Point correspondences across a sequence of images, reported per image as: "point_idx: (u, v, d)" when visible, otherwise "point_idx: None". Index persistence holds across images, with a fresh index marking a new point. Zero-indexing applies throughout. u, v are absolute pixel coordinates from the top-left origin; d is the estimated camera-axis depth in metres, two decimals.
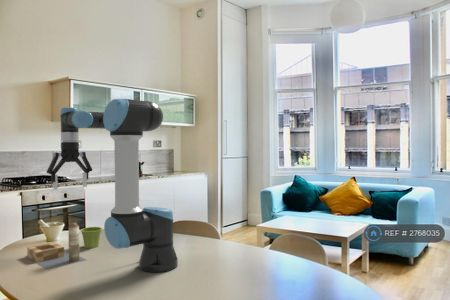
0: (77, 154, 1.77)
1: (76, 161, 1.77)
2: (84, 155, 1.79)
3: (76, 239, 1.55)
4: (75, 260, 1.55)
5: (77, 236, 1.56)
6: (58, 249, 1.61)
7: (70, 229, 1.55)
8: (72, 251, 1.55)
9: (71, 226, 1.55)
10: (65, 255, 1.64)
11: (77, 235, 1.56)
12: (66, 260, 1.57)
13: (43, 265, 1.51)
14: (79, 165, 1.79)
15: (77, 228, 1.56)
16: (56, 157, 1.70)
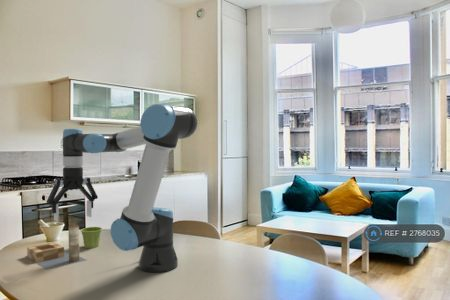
0: (81, 181, 1.58)
1: (80, 188, 1.58)
2: (89, 181, 1.60)
3: (76, 239, 1.55)
4: (75, 260, 1.55)
5: (77, 236, 1.56)
6: (58, 249, 1.61)
7: (70, 229, 1.55)
8: (72, 251, 1.55)
9: (71, 226, 1.55)
10: (65, 255, 1.64)
11: (77, 235, 1.56)
12: (66, 260, 1.57)
13: (43, 265, 1.51)
14: (83, 192, 1.60)
15: (77, 228, 1.56)
16: (57, 185, 1.51)
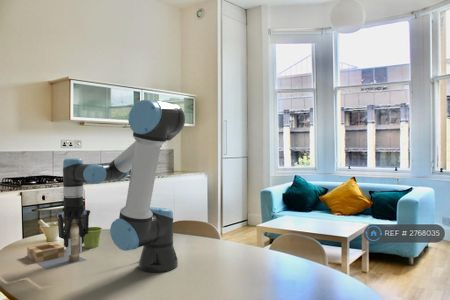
0: (81, 210, 1.58)
1: (77, 219, 1.57)
2: (87, 214, 1.60)
3: (76, 239, 1.55)
4: (75, 260, 1.55)
5: (77, 236, 1.56)
6: (58, 249, 1.61)
7: (70, 229, 1.55)
8: (72, 251, 1.55)
9: (71, 226, 1.55)
10: (65, 255, 1.64)
11: (77, 235, 1.56)
12: (66, 260, 1.57)
13: (43, 265, 1.51)
14: None
15: (77, 228, 1.56)
16: (61, 219, 1.52)
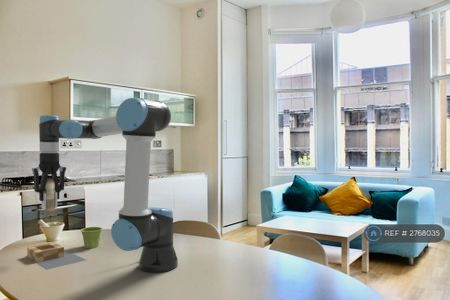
0: (57, 166, 1.62)
1: (52, 175, 1.61)
2: (63, 170, 1.64)
3: (51, 194, 1.60)
4: (50, 214, 1.60)
5: (52, 191, 1.60)
6: (58, 249, 1.61)
7: None
8: (47, 205, 1.59)
9: (47, 181, 1.59)
10: (65, 255, 1.64)
11: (52, 190, 1.60)
12: (66, 260, 1.57)
13: (43, 265, 1.51)
14: (53, 180, 1.62)
15: (52, 183, 1.60)
16: (36, 173, 1.56)
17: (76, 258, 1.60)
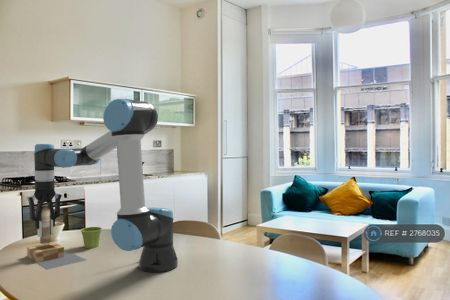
0: (52, 193, 1.63)
1: (48, 202, 1.63)
2: (59, 198, 1.65)
3: (47, 222, 1.61)
4: (46, 242, 1.61)
5: (48, 219, 1.61)
6: (58, 249, 1.61)
7: (41, 212, 1.60)
8: (43, 233, 1.60)
9: (42, 209, 1.61)
10: (65, 255, 1.64)
11: (48, 218, 1.61)
12: (66, 260, 1.57)
13: (43, 265, 1.51)
14: (49, 208, 1.63)
15: (48, 211, 1.61)
16: (31, 202, 1.57)
17: (76, 258, 1.60)
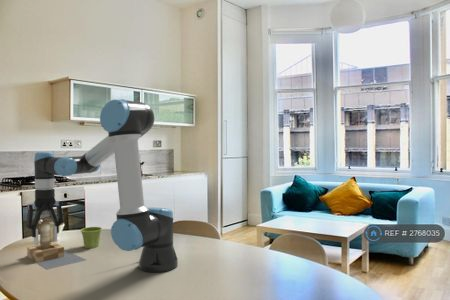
0: (53, 202, 1.63)
1: (49, 210, 1.63)
2: (60, 205, 1.65)
3: (47, 236, 1.61)
4: None
5: (48, 233, 1.61)
6: (58, 249, 1.61)
7: (41, 226, 1.60)
8: (43, 248, 1.60)
9: (42, 223, 1.61)
10: (65, 255, 1.64)
11: (48, 232, 1.61)
12: (66, 260, 1.57)
13: (43, 265, 1.51)
14: (51, 215, 1.64)
15: (48, 225, 1.61)
16: (31, 210, 1.57)
17: (76, 258, 1.60)
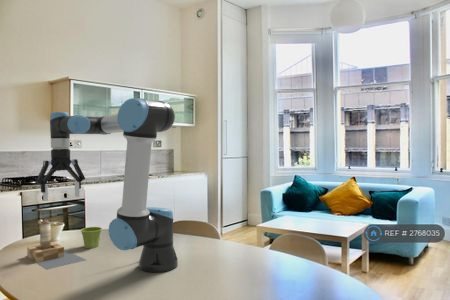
0: (68, 162, 1.65)
1: (67, 169, 1.65)
2: (76, 163, 1.67)
3: (47, 236, 1.61)
4: None
5: (48, 233, 1.61)
6: (58, 249, 1.61)
7: (41, 226, 1.60)
8: (43, 248, 1.60)
9: (42, 223, 1.61)
10: (65, 255, 1.64)
11: (48, 232, 1.61)
12: (66, 260, 1.57)
13: (43, 265, 1.51)
14: (71, 174, 1.67)
15: (48, 225, 1.61)
16: (46, 165, 1.58)
17: (76, 258, 1.60)
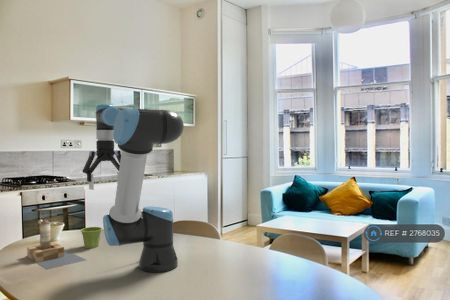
0: (112, 153, 1.71)
1: (111, 160, 1.71)
2: (119, 154, 1.73)
3: (47, 236, 1.61)
4: None
5: (48, 233, 1.61)
6: (58, 249, 1.61)
7: (41, 226, 1.60)
8: (43, 248, 1.60)
9: (42, 223, 1.60)
10: (65, 255, 1.64)
11: (48, 232, 1.61)
12: (66, 260, 1.57)
13: (43, 265, 1.51)
14: (114, 164, 1.73)
15: (48, 225, 1.61)
16: (92, 156, 1.64)
17: (76, 258, 1.60)
